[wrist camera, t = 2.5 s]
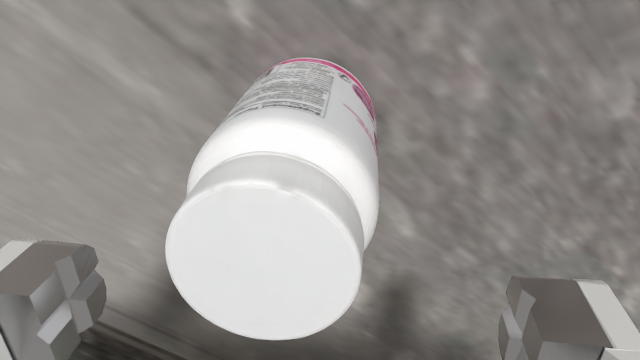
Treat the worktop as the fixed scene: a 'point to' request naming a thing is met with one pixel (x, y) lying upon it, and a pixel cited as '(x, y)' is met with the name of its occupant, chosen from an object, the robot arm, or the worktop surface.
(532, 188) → the worktop surface
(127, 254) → the worktop surface
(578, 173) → the worktop surface
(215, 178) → the pill bottle
